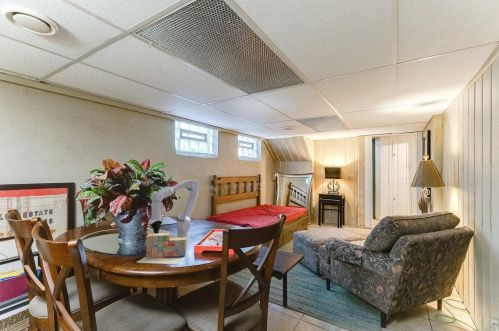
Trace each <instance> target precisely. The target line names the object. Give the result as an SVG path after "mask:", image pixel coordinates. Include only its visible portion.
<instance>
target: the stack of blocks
mask: <svg viewBox="0 0 499 331" xmlns="http://www.w3.org/2000/svg"><path fill="white" fill-rule="evenodd" d="M186 254H187V246H186V237H184V238H177V237H171V232H161V233H160V232H158V234H154V233H148V234H147V235H146V241H145V257H146V258H174V257H175V258H176V257H185V256H186Z"/></svg>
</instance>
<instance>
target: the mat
mask: <svg viewBox="0 0 499 331" xmlns="http://www.w3.org/2000/svg"><path fill="white" fill-rule="evenodd" d="M182 260H183V258H176V257H175V258H174V257H161V258H146V256H144V257H142V258H141V259H140V260H137V261H136V262H135V263H136V264H151V265H152V264H153V265H155V264H156V265H172V266H174V265H175V266H176V265H178V263H180V262H181V261H182Z"/></svg>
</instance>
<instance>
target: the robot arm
mask: <svg viewBox="0 0 499 331" xmlns="http://www.w3.org/2000/svg"><path fill="white" fill-rule="evenodd" d="M183 188H186V190H187V191H188V192H189V194H190V195H189V196H188V199H187V202H186V204H185V207H184V210H183V212H182V215H181V216H180V217H179V218H178V220H177V221H176V222H175V225H174V226H175V228H176V238H184V237H186V247H187V246H188V245H189V244H191V243H192V241H191V232H190V231H189V230H190V228H191V223H192V222H191V221H192V220H191V215H192V214H193V210H194V208H195V205H196V202H197V199H198V197H199V194H200V189H199V188H200V184H199V181H198V180H197V179H186V180H185V179H184V180H183V181H181V182H178V183H177V184H175V185H173V186H171V187H170V186H165V187H164V188H162V189H158V190H157V191H154V192H152V193H153V194H152V193H151V194H152V195H150V196H149V199H150V201H151V217H150V218H149V220H148V225H151V227H152V231H153V234H158V233H160V228H161V227H162V226H161V225H162V224H163V221H162V220H165V219H164V216H162V205H163V204H162V201H163V200H164V199H166V198H168V197H170V196H172V195H173V194H174V193H175V192H176V191H179V190H181V189H183Z"/></svg>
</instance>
